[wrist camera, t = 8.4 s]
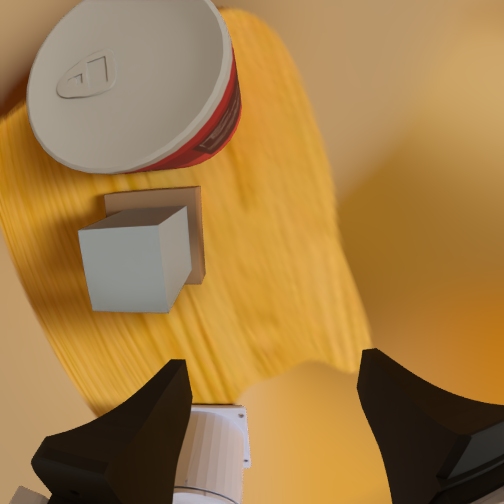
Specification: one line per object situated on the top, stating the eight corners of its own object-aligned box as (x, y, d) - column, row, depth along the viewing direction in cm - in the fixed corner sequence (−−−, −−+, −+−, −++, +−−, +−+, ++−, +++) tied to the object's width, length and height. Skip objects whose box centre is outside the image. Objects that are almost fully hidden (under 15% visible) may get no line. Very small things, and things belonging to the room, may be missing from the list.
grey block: (191, 269, 20) (168, 312, 14) (132, 270, 20) (92, 310, 14) (186, 205, 19) (158, 225, 13) (125, 209, 19) (77, 230, 13)
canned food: (109, 96, 18) (8, 59, 8) (212, 40, 18) (178, -55, 7) (154, 190, 20) (65, 218, 10) (262, 135, 19) (273, 101, 9)
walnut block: (206, 271, 22) (201, 284, 20) (127, 272, 22) (114, 284, 20) (201, 185, 21) (195, 188, 18) (119, 191, 21) (104, 194, 18)
